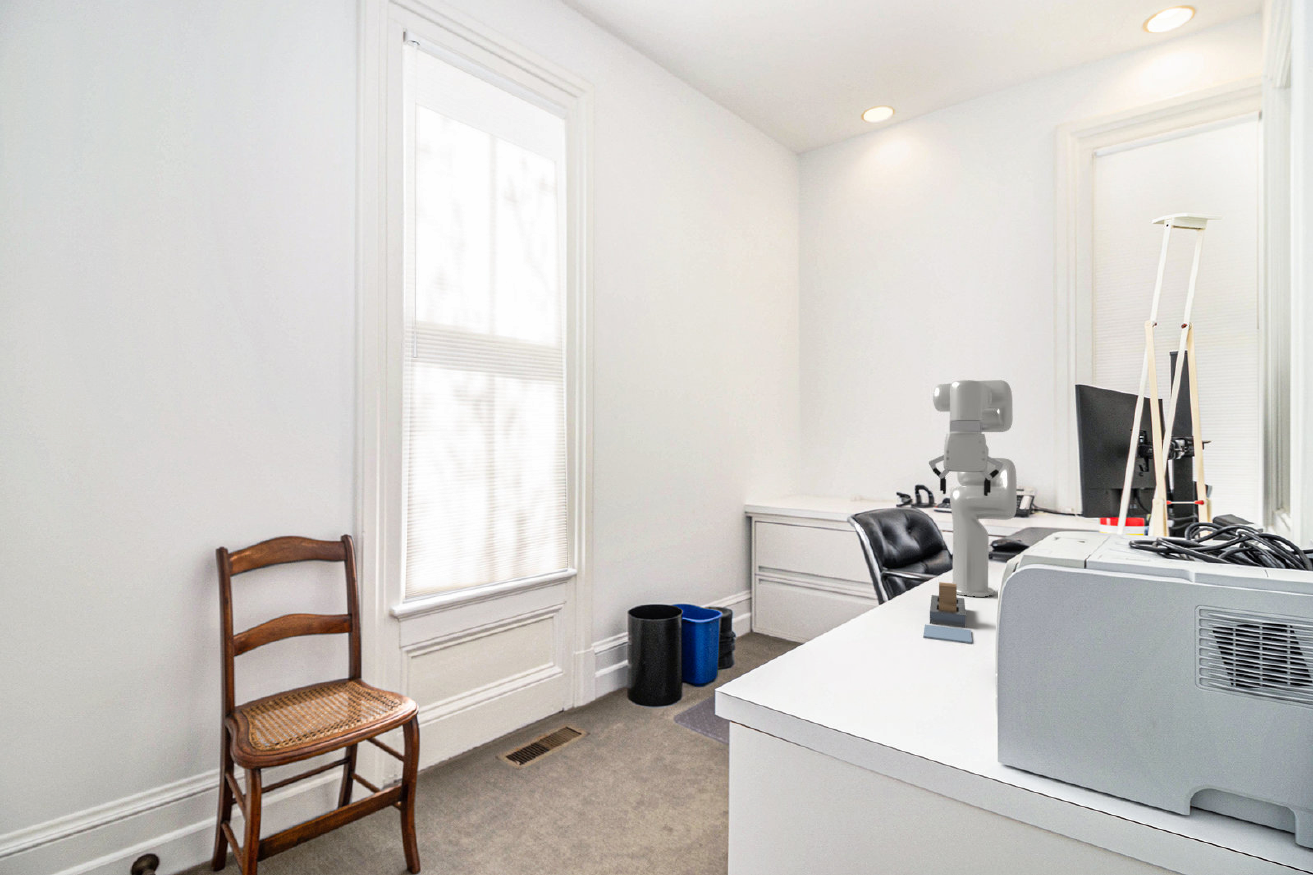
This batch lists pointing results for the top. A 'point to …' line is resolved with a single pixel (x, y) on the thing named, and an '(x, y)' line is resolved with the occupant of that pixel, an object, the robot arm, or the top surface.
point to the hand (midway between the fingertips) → (964, 494)
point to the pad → (947, 634)
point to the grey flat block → (947, 613)
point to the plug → (947, 596)
